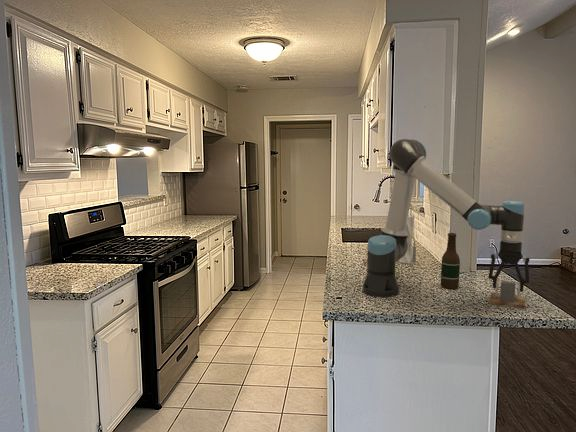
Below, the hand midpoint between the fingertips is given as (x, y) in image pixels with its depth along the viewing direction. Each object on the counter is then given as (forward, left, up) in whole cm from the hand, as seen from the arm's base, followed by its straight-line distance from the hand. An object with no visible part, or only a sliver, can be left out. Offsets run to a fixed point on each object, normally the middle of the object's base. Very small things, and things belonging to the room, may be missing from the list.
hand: (507, 297), depth 173 cm
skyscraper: (-50, +45, -2) cm, 67 cm away
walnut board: (0, 0, -2) cm, 2 cm away
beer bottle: (-23, +10, -2) cm, 25 cm away
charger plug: (0, 0, 0) cm, 0 cm away
